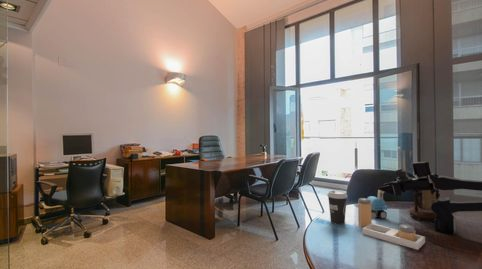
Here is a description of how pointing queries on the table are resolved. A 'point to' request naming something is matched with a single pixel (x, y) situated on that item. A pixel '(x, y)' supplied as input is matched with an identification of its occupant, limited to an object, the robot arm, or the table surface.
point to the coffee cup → (337, 206)
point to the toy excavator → (378, 206)
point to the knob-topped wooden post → (364, 212)
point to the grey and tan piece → (407, 232)
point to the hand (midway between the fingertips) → (380, 187)
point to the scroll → (425, 204)
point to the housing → (392, 236)
